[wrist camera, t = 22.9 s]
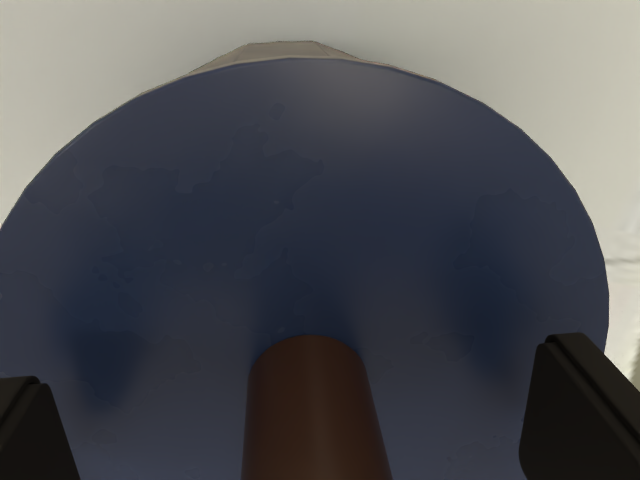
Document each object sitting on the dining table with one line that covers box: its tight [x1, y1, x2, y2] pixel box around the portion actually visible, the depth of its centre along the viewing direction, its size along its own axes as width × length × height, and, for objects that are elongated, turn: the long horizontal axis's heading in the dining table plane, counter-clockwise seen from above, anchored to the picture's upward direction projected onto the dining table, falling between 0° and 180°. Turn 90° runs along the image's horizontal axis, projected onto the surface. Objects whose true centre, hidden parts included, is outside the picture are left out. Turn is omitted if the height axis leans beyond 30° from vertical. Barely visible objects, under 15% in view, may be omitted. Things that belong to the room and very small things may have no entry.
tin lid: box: [0, 55, 609, 480], centre depth 9 cm, size 12×12×6 cm
